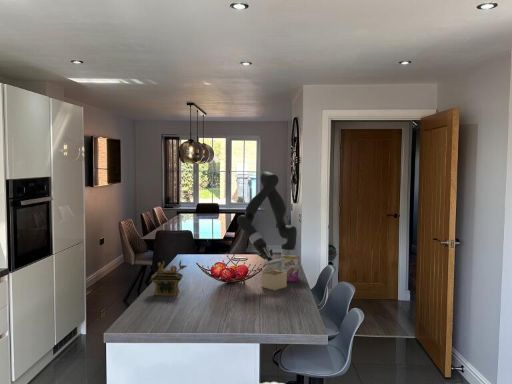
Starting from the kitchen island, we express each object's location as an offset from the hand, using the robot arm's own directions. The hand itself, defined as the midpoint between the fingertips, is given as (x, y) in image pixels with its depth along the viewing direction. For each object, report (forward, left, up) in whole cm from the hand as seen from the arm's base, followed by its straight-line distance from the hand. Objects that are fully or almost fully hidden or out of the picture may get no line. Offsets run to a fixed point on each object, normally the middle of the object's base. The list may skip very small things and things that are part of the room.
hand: (272, 263), depth 287 cm
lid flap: (0, 0, -2) cm, 2 cm away
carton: (+1, +1, -15) cm, 15 cm away
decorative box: (+26, -57, -15) cm, 64 cm away
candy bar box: (-17, +10, -15) cm, 25 cm away
